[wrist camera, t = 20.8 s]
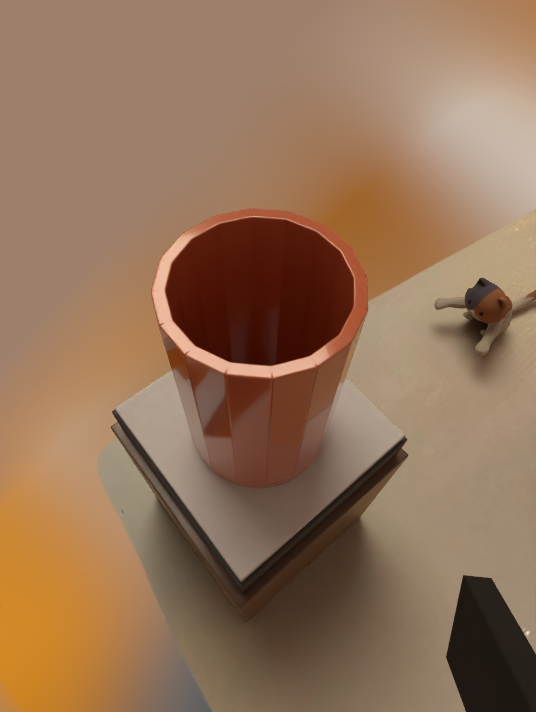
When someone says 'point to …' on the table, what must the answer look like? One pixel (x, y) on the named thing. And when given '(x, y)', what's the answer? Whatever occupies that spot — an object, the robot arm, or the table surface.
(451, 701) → the table surface
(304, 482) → the scale
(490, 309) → the toy
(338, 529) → the stand
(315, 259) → the cup
